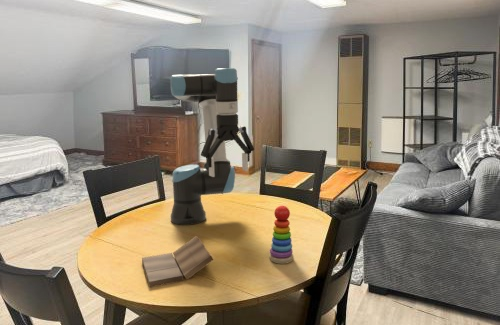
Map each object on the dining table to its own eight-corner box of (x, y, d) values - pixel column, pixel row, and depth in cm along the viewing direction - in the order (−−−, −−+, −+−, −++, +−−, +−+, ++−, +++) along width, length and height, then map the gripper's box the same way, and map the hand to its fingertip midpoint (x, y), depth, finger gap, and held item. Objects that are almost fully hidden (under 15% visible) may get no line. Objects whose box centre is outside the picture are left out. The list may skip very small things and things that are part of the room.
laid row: (142, 262, 141) (141, 257, 141) (171, 257, 145) (171, 252, 144) (149, 287, 125) (149, 281, 124) (183, 280, 128) (182, 275, 128)
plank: (175, 256, 145) (172, 252, 144) (199, 239, 147) (196, 235, 146) (187, 279, 129) (183, 275, 128) (213, 259, 130) (210, 255, 130)
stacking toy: (292, 265, 137) (292, 210, 133) (268, 264, 138) (267, 209, 135) (294, 255, 145) (294, 203, 141) (271, 254, 146) (270, 202, 142)
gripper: (199, 117, 136) (201, 180, 140) (263, 112, 149) (263, 170, 153) (189, 115, 142) (192, 176, 147) (251, 110, 155) (252, 166, 159)
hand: (228, 173), depth 150 cm, fingers open, 13 cm apart
